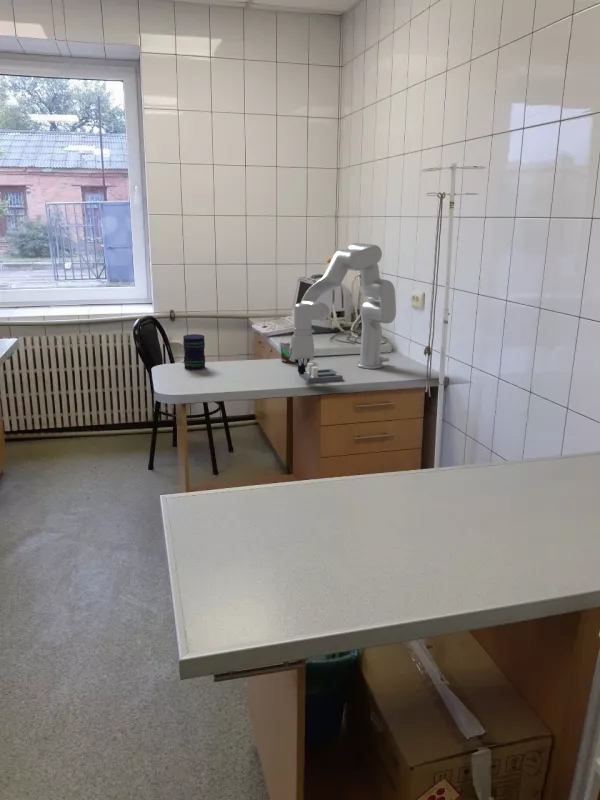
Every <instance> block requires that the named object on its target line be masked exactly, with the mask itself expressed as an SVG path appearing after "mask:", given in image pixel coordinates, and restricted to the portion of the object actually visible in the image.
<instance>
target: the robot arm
mask: <svg viewBox="0 0 600 800" xmlns="http://www.w3.org/2000/svg"><path fill="white" fill-rule="evenodd" d="M382 255H383V252H382V249H381V247H380V246H379V245H376V244H371V243H370V244H369V243H361V242H359V243H358V242H354V243H352V244H351V243H350V244H349V245H348V247H347V249H339V250H337V251H335V253H334V254H333V256H332V258H331V260H330V261H329V264H328V266H327V267H326V270H325V272H324V274H323V275H322V276H321V278H319V279H318V280H317V281H316V282H314V283H313V284H312V285H311V286H310V287H308V289H307V290H306V291H305V293H304V294H303V297H302V298H301V301H300V302H298V303H296V304H295V305H294V309H293V311H294V313H293V334H292V335H291V338H290V341H289V343H290V351H289V355H290V361H292V362H296V363H295V364H297V373H298V375H299V374H301V375H302V374H304V372H305V371H306V366H307V363H310V362H311V361H313V360H314V359H315V358H314V356H315V344H314V338H313V337H314V336H313V333H315V329H314V328H312V323H313V322H312V321H322V320H325V319H327V318H328V316H330V308H329V305H328V304H326V303H325V302H321V301H317V300H318V299H319V298H320V297H321V296H322V295H324V294H326V293H329V292H333V291H334V290H337V289H338V288H340V286H341V285H342V283H343V281H344V278H345V276H346V275H347V273H348V271H356V272H357V271H358V272H360V281H361V291H362V295H363V296H364V297H365V299H366V298H367V299H370V300H365V301H364V302H363V303H362V304H361V306H360V319H361V338H360V355H359V356H360V358H359V361H357V362H356V366H357V367H359V368H361V369H369V370H371V369H373V370H375V369H381V368H383V367H384V363H385V362H390V358H389V357H384V356H381V352H382V351H381V348H382V335H383V334H382V331H383V330H382V325H381V324H388V325H389V324H392V323H393V322H394V321H395V318H396V315H397V304H396V289H395V286H394V283H392V281H390V280H389V279H384V278H383V279H382V278H381V276H380V267H379V265H378V263H379V262H380V261H381V259H382V258H383V257H382Z"/></svg>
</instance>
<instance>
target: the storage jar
mask: <svg viewBox="0 0 600 800" xmlns="http://www.w3.org/2000/svg"><path fill="white" fill-rule="evenodd" d="M182 341H183V343H182V345H183V352H184V356H183V364H184V369H185V370H187V371H202V370H204V369H205V368H206V356H205V347H206V346H205V335H202V334H198V333H197V334H185V335H183V339H182Z"/></svg>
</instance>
